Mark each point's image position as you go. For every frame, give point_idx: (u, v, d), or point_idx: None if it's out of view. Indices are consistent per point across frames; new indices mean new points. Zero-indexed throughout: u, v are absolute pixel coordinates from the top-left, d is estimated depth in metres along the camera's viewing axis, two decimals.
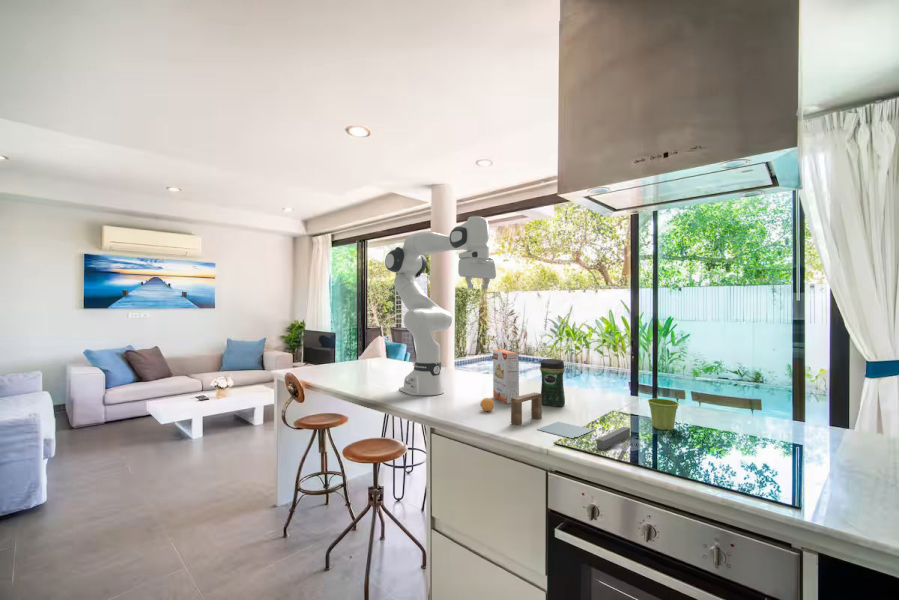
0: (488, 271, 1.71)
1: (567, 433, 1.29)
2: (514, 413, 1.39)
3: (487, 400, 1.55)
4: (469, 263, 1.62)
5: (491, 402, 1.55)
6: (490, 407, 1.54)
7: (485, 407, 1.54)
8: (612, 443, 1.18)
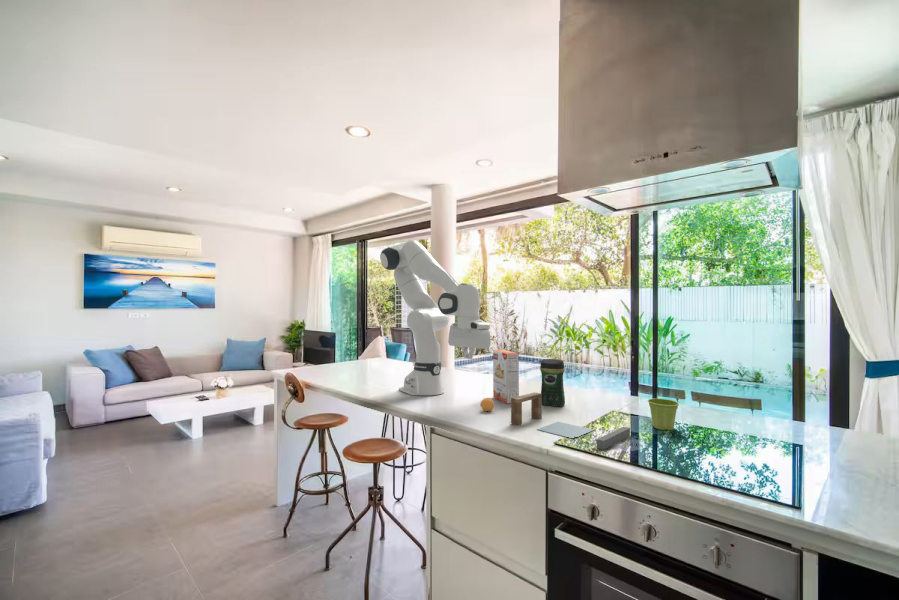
0: None
1: (567, 433, 1.29)
2: (514, 413, 1.39)
3: (487, 400, 1.55)
4: None
5: (491, 402, 1.55)
6: (490, 407, 1.54)
7: (485, 407, 1.54)
8: (612, 443, 1.18)
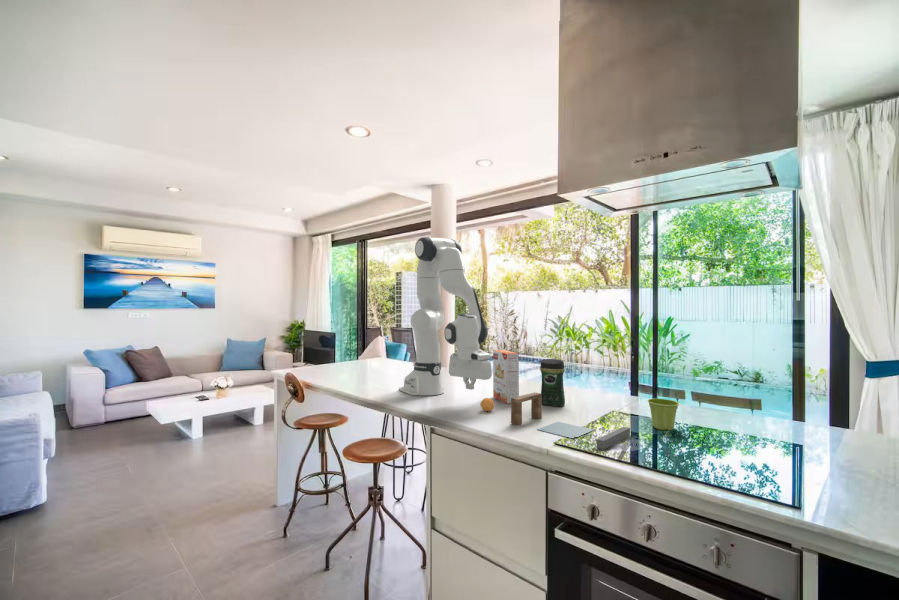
0: None
1: (567, 433, 1.29)
2: (514, 413, 1.39)
3: (487, 400, 1.55)
4: None
5: (491, 402, 1.55)
6: (490, 407, 1.54)
7: (485, 407, 1.54)
8: (612, 443, 1.18)
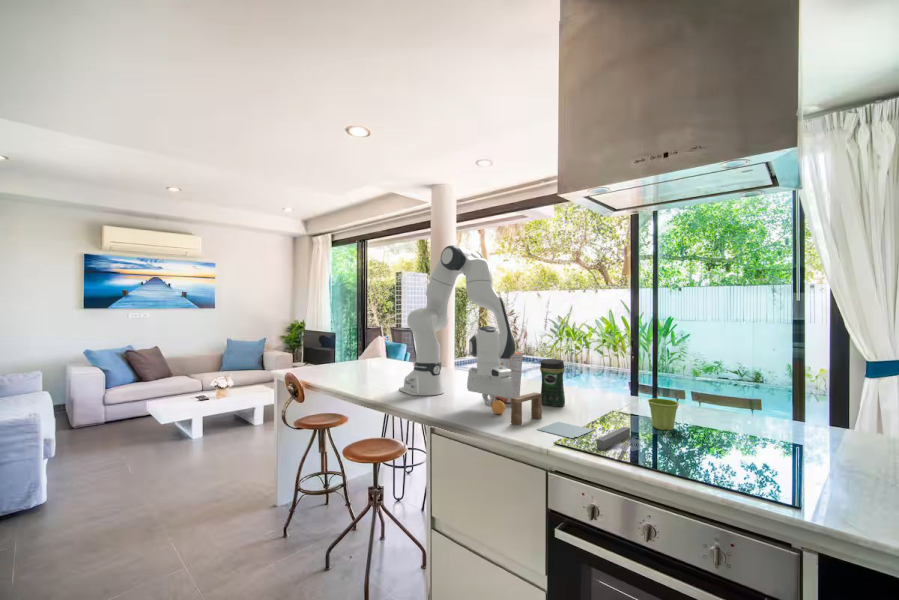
0: None
1: (567, 433, 1.29)
2: (514, 413, 1.39)
3: (499, 412, 1.51)
4: None
5: (499, 413, 1.52)
6: None
7: (493, 410, 1.52)
8: (612, 443, 1.18)
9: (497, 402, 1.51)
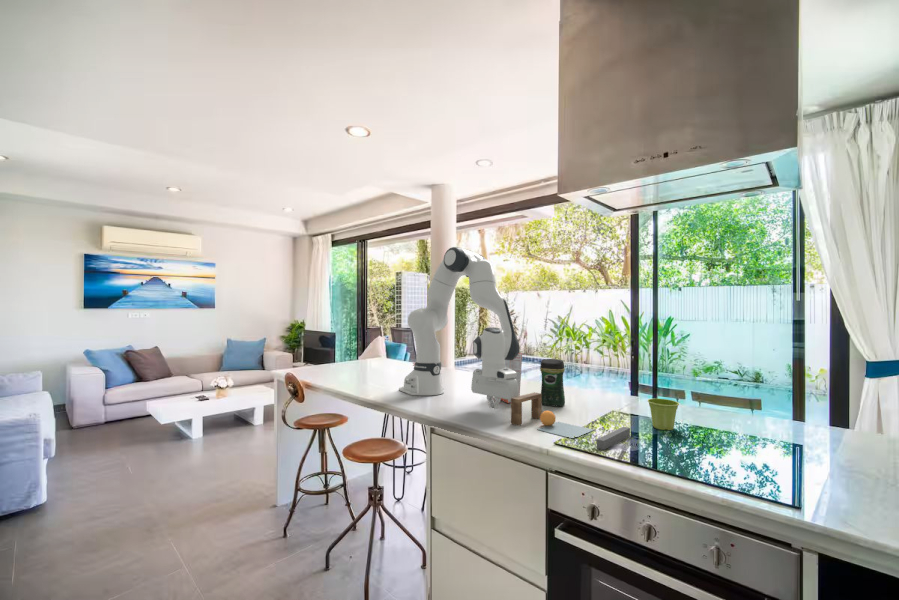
0: None
1: (567, 433, 1.29)
2: (514, 413, 1.39)
3: (540, 418, 1.38)
4: None
5: None
6: None
7: (543, 416, 1.36)
8: (612, 443, 1.18)
9: (549, 424, 1.36)
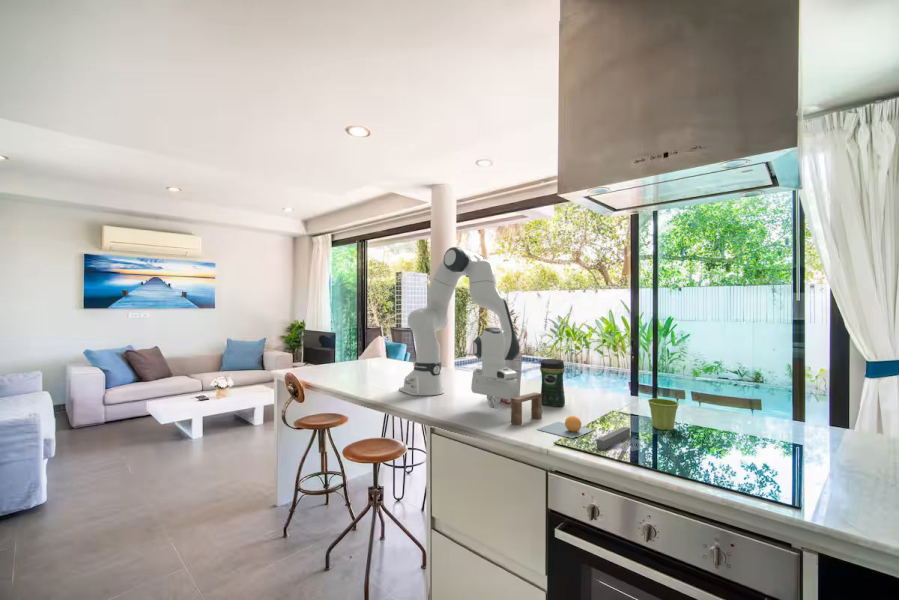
0: None
1: (567, 433, 1.29)
2: (514, 413, 1.39)
3: (577, 428, 1.29)
4: None
5: None
6: (570, 431, 1.31)
7: (568, 428, 1.30)
8: (612, 443, 1.18)
9: (570, 417, 1.30)
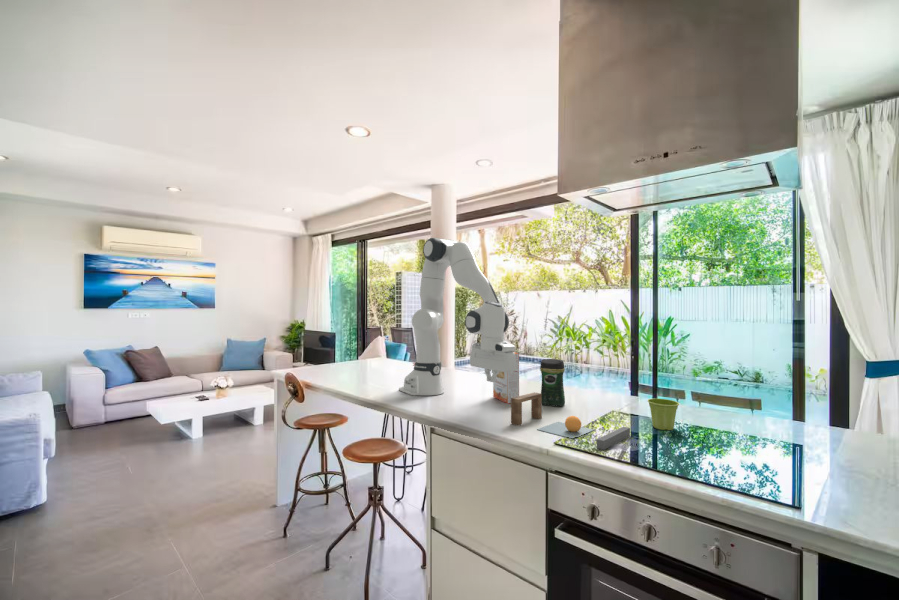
0: None
1: (567, 433, 1.29)
2: (514, 413, 1.39)
3: (577, 428, 1.29)
4: None
5: None
6: (570, 431, 1.31)
7: (568, 428, 1.30)
8: (612, 443, 1.18)
9: (570, 417, 1.30)
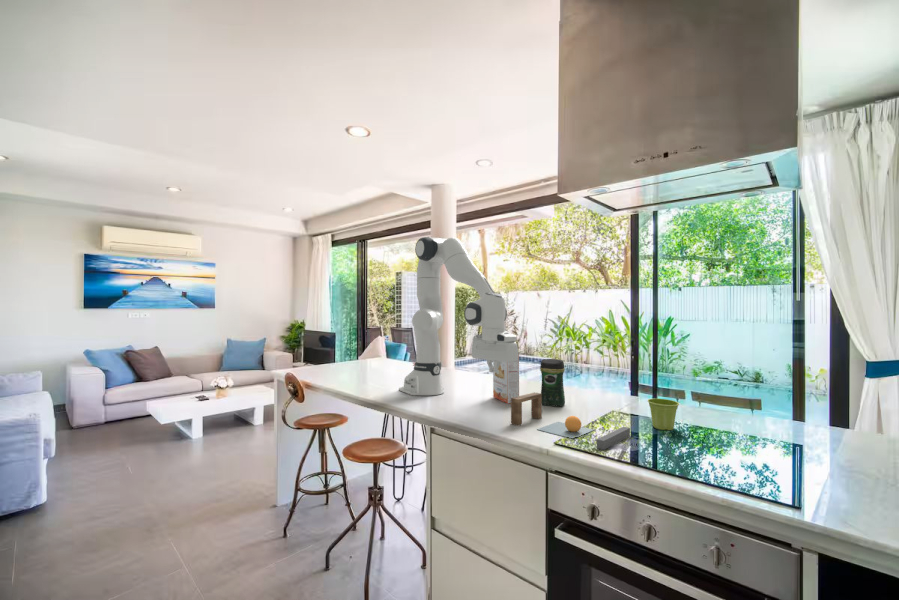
0: None
1: (567, 433, 1.29)
2: (514, 413, 1.39)
3: (577, 428, 1.29)
4: None
5: None
6: (570, 431, 1.31)
7: (568, 428, 1.30)
8: (612, 443, 1.18)
9: (570, 417, 1.30)
